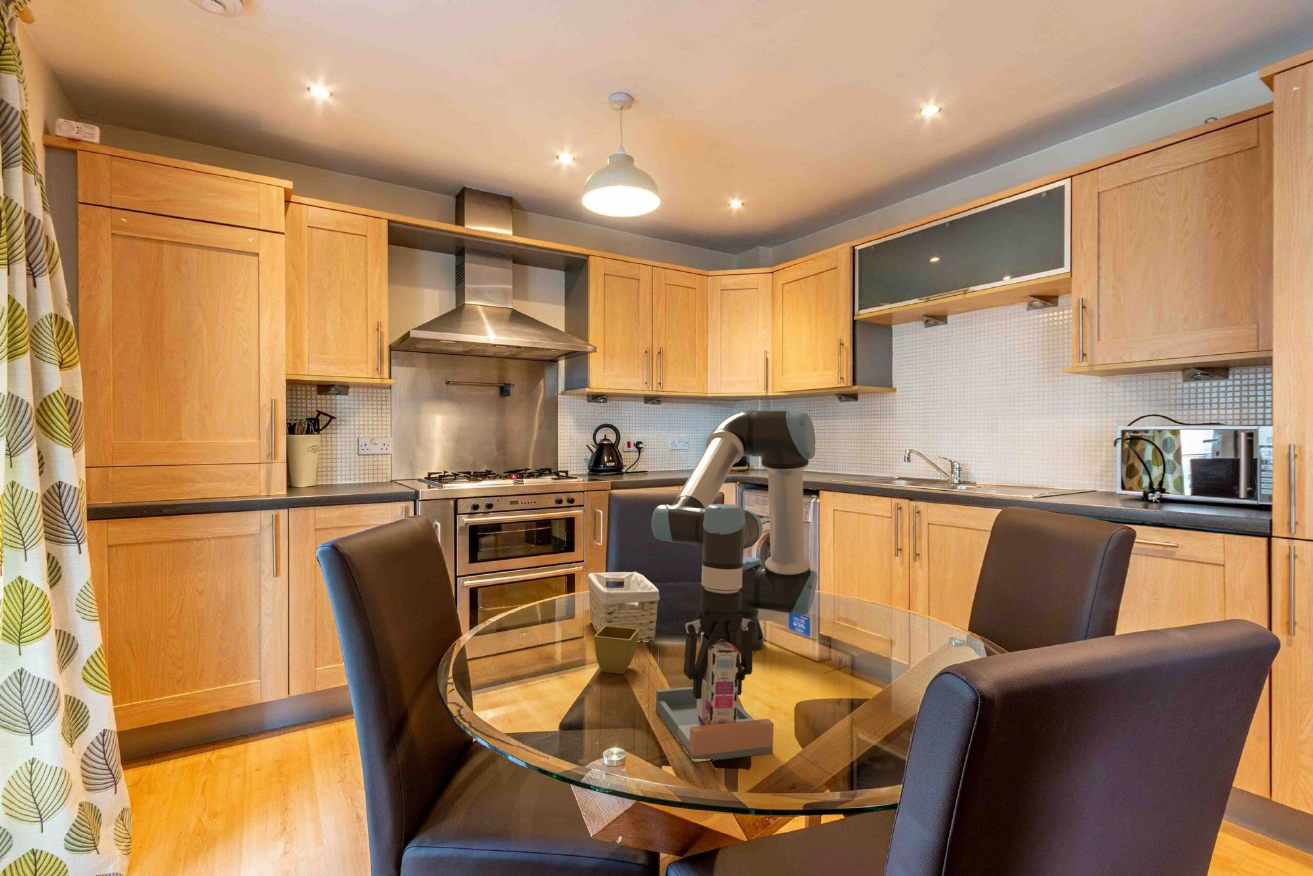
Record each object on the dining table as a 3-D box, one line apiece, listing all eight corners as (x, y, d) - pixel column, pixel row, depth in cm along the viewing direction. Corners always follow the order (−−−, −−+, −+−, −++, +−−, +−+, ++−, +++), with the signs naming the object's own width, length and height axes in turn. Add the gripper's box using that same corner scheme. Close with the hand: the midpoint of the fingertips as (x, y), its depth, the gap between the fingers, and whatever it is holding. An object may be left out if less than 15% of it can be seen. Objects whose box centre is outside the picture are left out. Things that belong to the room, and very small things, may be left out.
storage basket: (659, 644, 168) (661, 589, 168) (600, 647, 164) (602, 591, 164) (637, 619, 191) (639, 571, 191) (584, 621, 187) (586, 572, 187)
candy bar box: (737, 743, 111) (740, 651, 111) (709, 744, 110) (712, 651, 110) (722, 714, 122) (724, 630, 122) (696, 715, 121) (699, 631, 121)
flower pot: (628, 679, 142) (630, 639, 142) (592, 674, 144) (593, 635, 144) (637, 666, 151) (639, 628, 151) (602, 662, 153) (604, 625, 153)
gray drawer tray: (724, 704, 130) (725, 679, 130) (772, 753, 110) (773, 723, 110) (655, 710, 126) (656, 684, 126) (693, 762, 106) (694, 732, 106)
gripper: (757, 582, 122) (752, 701, 122) (667, 585, 117) (662, 709, 117) (775, 591, 115) (770, 717, 115) (681, 595, 110) (676, 727, 109)
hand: (716, 713), depth 116 cm, fingers closed on candy bar box, 5 cm apart
